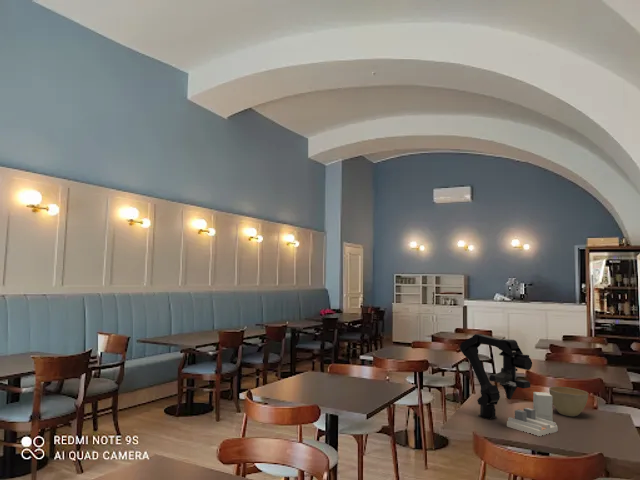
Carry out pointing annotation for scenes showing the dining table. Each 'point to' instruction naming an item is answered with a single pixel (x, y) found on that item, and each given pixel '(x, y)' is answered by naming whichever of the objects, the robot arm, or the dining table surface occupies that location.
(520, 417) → the switch tab
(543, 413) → the supplement box
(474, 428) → the dining table surface
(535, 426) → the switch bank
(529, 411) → the switch tab
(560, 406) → the olive green bowl
